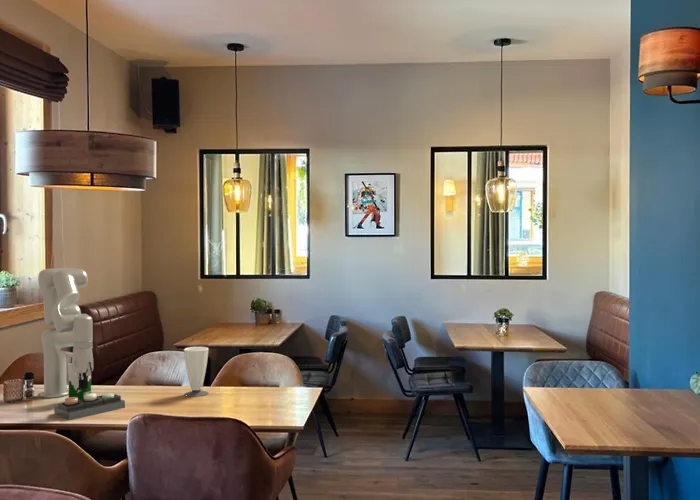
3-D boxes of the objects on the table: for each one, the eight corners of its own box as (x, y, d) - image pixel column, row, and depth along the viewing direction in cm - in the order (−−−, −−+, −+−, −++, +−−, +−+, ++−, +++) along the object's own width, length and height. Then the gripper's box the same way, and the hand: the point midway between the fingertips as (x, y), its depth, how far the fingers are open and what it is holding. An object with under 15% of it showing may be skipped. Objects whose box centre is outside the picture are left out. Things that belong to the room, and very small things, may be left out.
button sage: (99, 399, 259) (99, 394, 259) (110, 397, 262) (110, 392, 262) (105, 401, 255) (105, 396, 255) (116, 399, 259) (116, 394, 259)
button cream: (81, 399, 252) (81, 394, 252) (93, 397, 256) (93, 392, 256) (87, 401, 249) (87, 396, 249) (98, 399, 253) (98, 394, 253)
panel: (54, 413, 248) (54, 402, 248) (109, 402, 266) (109, 391, 266) (69, 420, 239) (69, 408, 239) (124, 407, 257) (124, 397, 257)
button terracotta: (62, 403, 246) (62, 398, 246) (74, 401, 250) (74, 396, 250) (67, 405, 243) (67, 400, 243) (80, 403, 247) (80, 398, 247)
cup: (213, 393, 282) (213, 347, 282) (195, 398, 273) (195, 351, 272) (197, 389, 289) (196, 345, 288) (178, 394, 279) (178, 349, 279)
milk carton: (77, 398, 273) (77, 355, 273) (95, 399, 271) (94, 356, 271) (64, 403, 264) (64, 359, 264) (82, 404, 262) (82, 359, 262)
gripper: (65, 344, 252) (66, 387, 252) (83, 348, 243) (83, 392, 243) (82, 342, 258) (83, 384, 258) (100, 345, 248) (100, 389, 249)
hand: (83, 388), depth 250 cm, fingers closed
